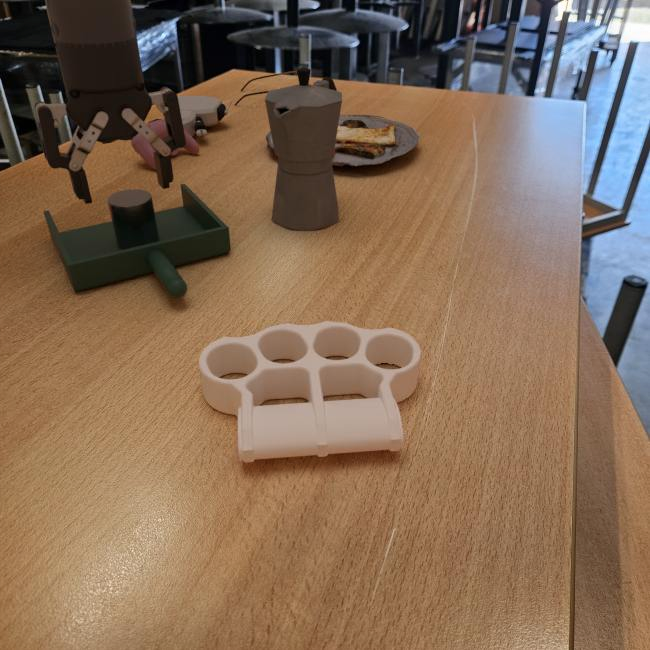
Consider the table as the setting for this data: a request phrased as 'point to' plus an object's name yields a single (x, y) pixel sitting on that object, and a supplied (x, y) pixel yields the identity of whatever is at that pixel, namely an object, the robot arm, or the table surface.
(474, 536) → the table surface
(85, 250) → the scoop
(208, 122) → the robot toy
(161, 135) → the pink curved piece
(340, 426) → the white brass knuckles
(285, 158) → the coffeepot
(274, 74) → the sunglasses
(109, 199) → the metal canister
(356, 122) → the food plate
